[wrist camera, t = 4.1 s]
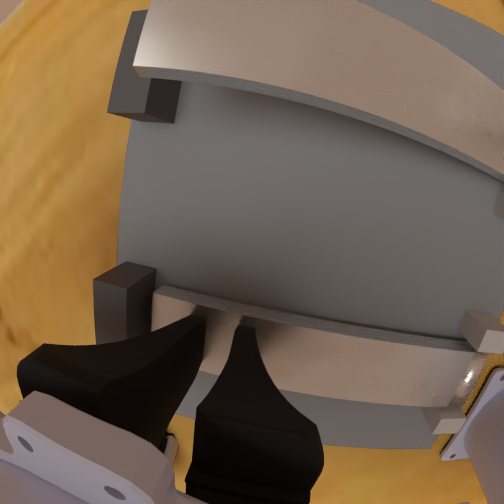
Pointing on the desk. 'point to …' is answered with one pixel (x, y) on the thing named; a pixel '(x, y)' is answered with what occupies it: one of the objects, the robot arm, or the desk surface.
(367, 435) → the base plate
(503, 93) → the front strap
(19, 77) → the desk surface
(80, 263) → the desk surface
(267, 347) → the strip
